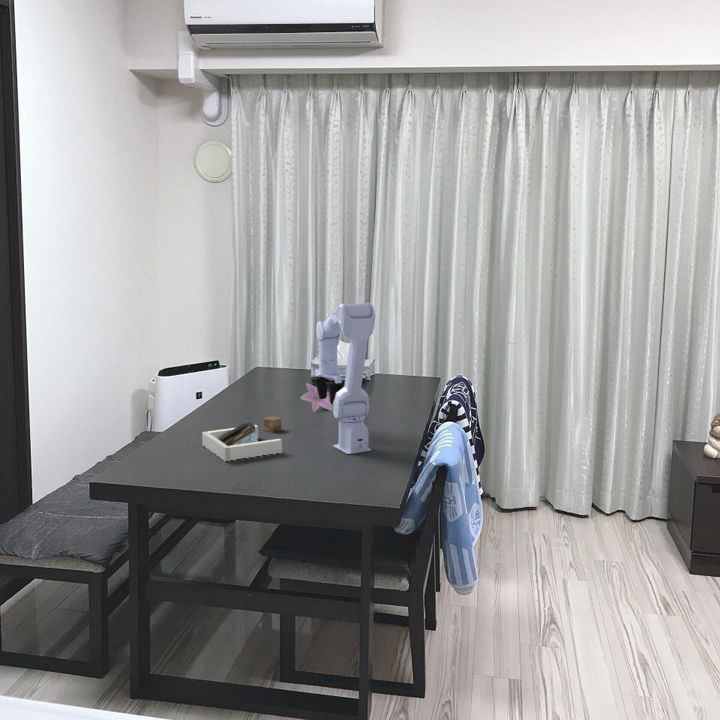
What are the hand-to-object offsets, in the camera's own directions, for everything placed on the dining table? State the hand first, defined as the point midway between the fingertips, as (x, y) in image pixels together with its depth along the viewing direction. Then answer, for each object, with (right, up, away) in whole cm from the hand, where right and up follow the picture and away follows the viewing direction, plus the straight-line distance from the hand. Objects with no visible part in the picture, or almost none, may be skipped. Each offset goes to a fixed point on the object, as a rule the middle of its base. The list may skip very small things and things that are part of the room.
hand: (328, 401), depth 269 cm
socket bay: (-24, -13, -18) cm, 33 cm away
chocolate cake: (-26, -13, -14) cm, 32 cm away
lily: (-5, -5, +31) cm, 32 cm away
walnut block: (-18, -10, +3) cm, 21 cm away
